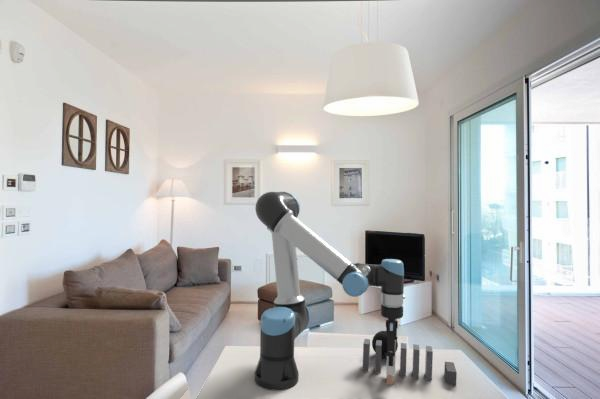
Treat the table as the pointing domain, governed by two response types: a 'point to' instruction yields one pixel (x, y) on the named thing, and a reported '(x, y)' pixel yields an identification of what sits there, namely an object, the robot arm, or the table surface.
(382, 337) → the black ball
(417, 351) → the domino
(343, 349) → the table surface
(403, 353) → the domino
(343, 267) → the robot arm
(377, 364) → the domino
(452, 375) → the block
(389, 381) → the domino
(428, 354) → the domino
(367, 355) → the domino
